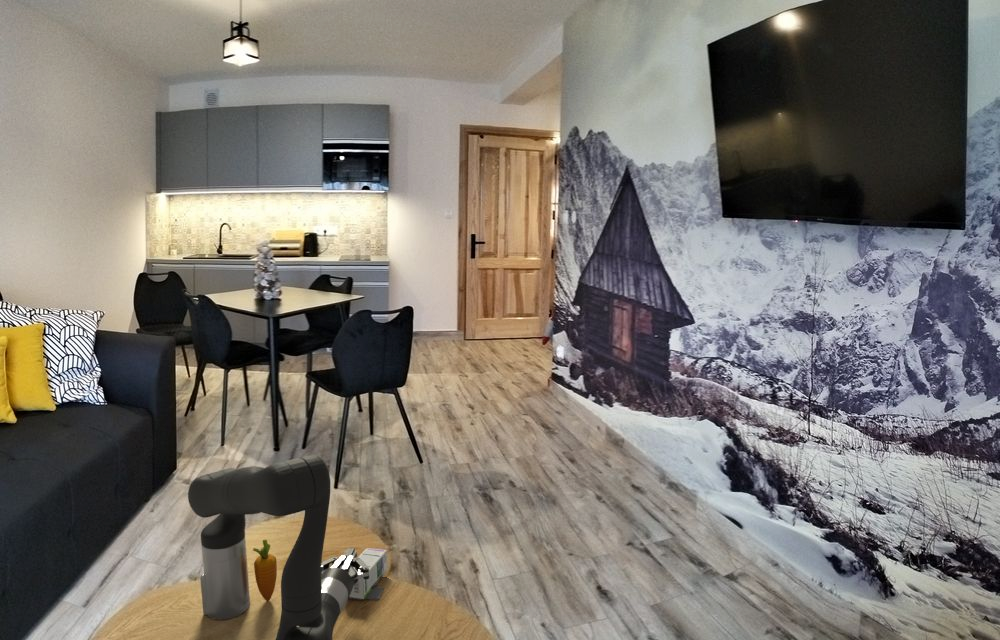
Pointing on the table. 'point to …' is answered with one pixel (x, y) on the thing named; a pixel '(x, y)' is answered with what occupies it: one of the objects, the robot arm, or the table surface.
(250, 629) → the table surface
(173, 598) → the table surface
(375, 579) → the syrup box
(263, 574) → the carrot
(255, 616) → the table surface
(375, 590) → the grey flat block
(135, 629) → the table surface
